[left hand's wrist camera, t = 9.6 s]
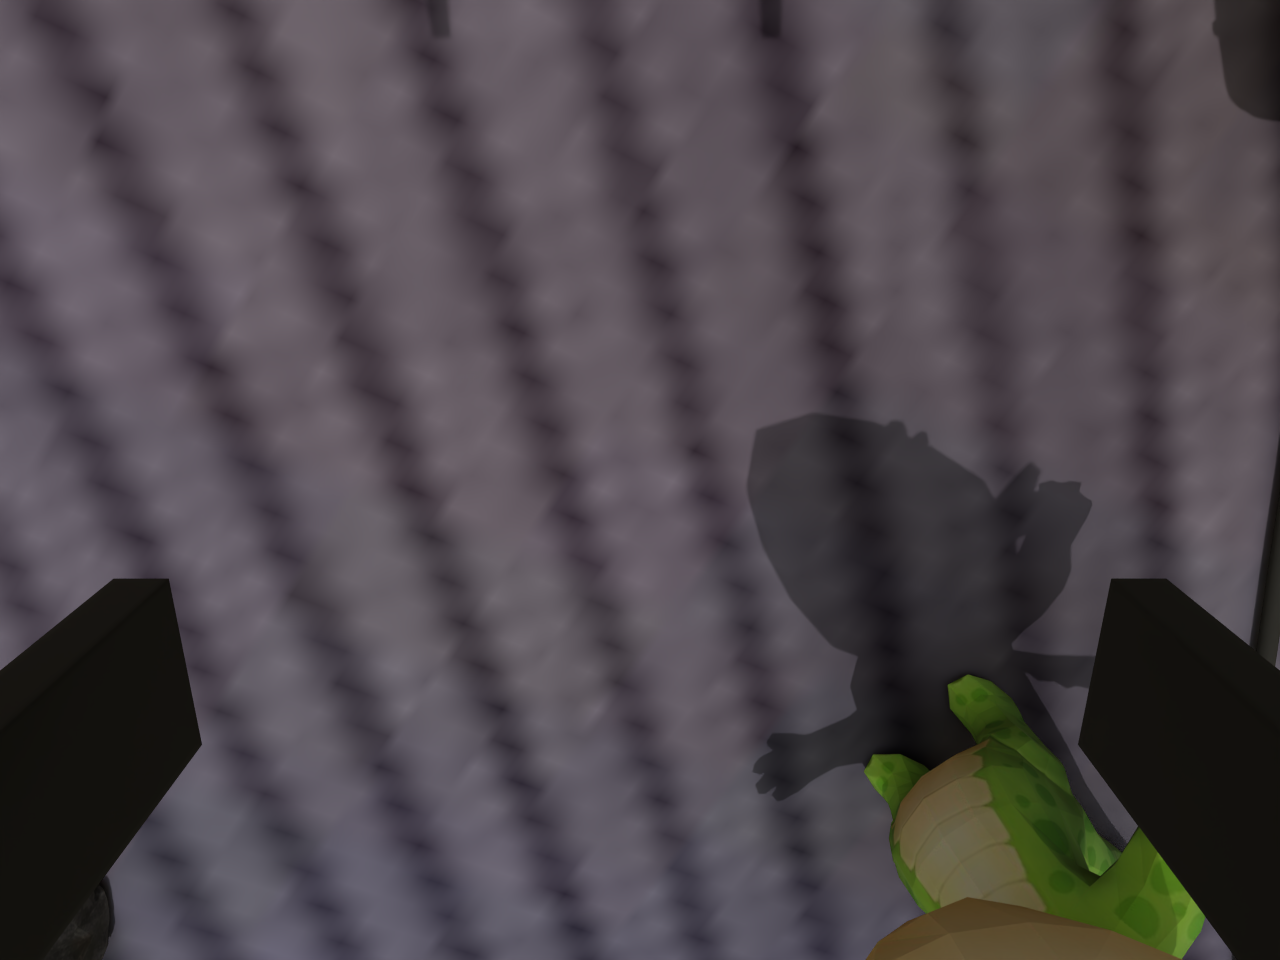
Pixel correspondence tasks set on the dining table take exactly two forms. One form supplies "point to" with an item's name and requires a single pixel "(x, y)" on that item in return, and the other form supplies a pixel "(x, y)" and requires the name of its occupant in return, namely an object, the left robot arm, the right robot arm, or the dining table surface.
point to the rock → (85, 931)
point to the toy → (1018, 855)
